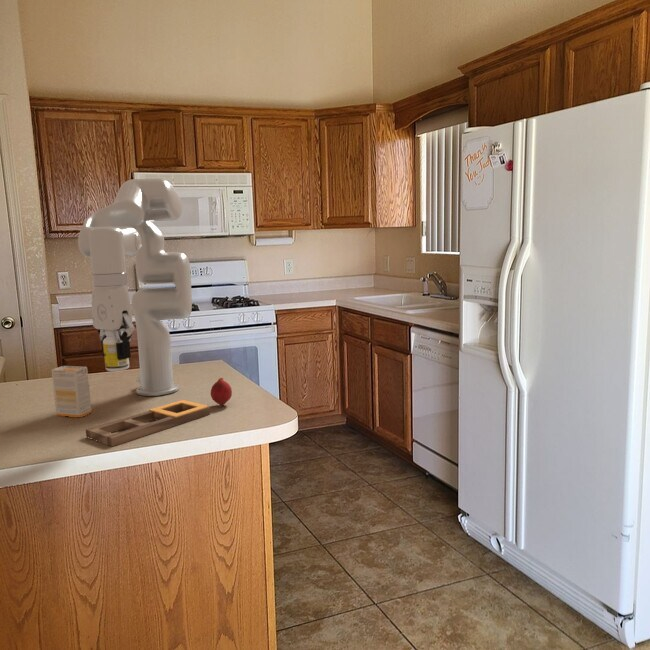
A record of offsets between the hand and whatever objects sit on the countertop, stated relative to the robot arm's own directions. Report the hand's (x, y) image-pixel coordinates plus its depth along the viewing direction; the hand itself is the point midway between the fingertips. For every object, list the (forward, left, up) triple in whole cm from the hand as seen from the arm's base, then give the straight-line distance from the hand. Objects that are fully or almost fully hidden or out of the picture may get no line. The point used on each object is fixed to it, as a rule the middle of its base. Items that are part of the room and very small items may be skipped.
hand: (116, 356), depth 142 cm
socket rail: (0, +8, -19) cm, 21 cm away
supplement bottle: (0, 0, -3) cm, 3 cm away
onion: (+2, +30, -19) cm, 36 cm away
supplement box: (-26, +2, -19) cm, 32 cm away
